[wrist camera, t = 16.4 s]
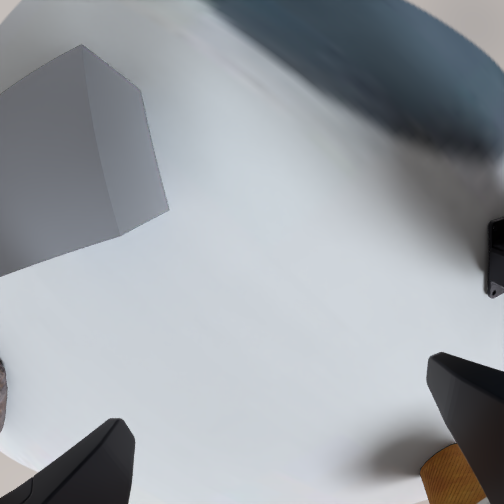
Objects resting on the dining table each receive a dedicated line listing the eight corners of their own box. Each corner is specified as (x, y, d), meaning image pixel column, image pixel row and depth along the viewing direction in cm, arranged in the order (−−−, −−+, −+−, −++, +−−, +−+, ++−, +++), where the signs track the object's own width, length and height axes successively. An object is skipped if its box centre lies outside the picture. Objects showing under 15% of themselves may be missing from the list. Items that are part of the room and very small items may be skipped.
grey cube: (140, 90, 16) (81, 44, 8) (169, 210, 18) (120, 235, 10) (41, 135, 16) (-40, 127, 8) (66, 243, 18) (-10, 280, 10)
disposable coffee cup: (413, 491, 27) (442, 553, 15) (402, 466, 25) (439, 544, 13) (472, 453, 26) (509, 508, 15) (471, 421, 24) (521, 486, 12)
